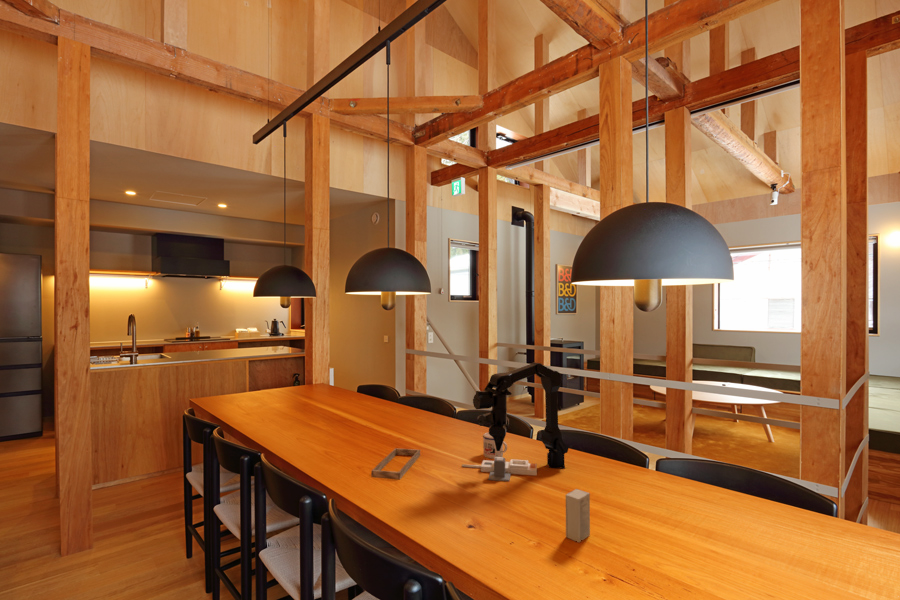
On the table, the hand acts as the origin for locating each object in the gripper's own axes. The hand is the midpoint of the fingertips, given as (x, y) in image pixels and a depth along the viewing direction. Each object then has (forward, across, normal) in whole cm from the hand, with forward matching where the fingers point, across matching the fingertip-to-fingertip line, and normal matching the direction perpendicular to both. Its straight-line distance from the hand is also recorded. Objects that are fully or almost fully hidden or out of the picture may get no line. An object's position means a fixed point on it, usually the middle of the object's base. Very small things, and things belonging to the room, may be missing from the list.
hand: (499, 447), depth 171 cm
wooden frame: (+12, -4, -43) cm, 45 cm away
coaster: (+11, 0, 0) cm, 11 cm away
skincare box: (+12, +41, +26) cm, 50 cm away
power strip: (+11, -8, -1) cm, 14 cm away
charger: (+11, 0, 0) cm, 11 cm away
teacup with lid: (+12, -24, -4) cm, 27 cm away
